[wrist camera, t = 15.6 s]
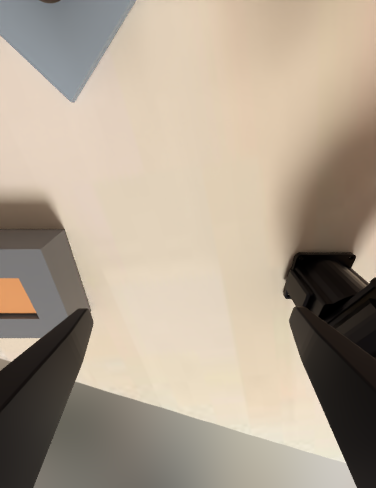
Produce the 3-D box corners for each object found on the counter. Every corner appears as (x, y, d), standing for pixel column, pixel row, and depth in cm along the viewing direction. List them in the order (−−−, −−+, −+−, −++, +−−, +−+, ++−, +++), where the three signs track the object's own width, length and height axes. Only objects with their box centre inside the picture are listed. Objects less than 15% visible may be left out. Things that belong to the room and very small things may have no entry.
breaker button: (39, 260, 23) (20, 277, 20) (53, 293, 25) (38, 313, 23) (-6, 260, 23) (-31, 277, 20) (13, 293, 25) (-7, 313, 23)
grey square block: (64, 229, 21) (40, 249, 18) (91, 311, 27) (77, 337, 24) (-52, 229, 21) (-98, 249, 18) (0, 311, 27) (-27, 338, 24)
